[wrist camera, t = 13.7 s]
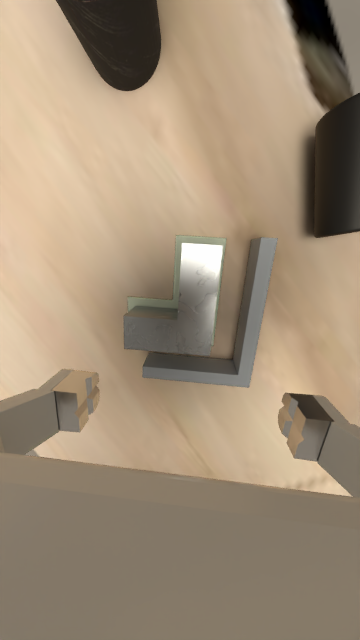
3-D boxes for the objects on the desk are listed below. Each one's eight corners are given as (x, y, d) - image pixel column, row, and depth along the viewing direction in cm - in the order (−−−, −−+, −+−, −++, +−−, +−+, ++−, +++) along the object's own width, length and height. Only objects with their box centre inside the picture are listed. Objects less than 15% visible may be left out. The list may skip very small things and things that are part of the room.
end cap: (299, 139, 22) (343, 91, 15) (374, 122, 21) (452, 64, 15) (300, 240, 25) (337, 235, 18) (366, 228, 24) (428, 219, 17)
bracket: (217, 247, 25) (223, 245, 20) (207, 339, 29) (209, 356, 24) (135, 241, 26) (122, 239, 21) (135, 333, 29) (124, 348, 25)
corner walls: (242, 370, 30) (249, 387, 26) (149, 362, 31) (142, 377, 27) (265, 240, 25) (277, 238, 21) (151, 233, 26) (144, 230, 22)
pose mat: (213, 345, 29) (213, 346, 29) (128, 337, 30) (128, 338, 30) (226, 238, 25) (226, 238, 25) (127, 232, 26) (126, 231, 25)
